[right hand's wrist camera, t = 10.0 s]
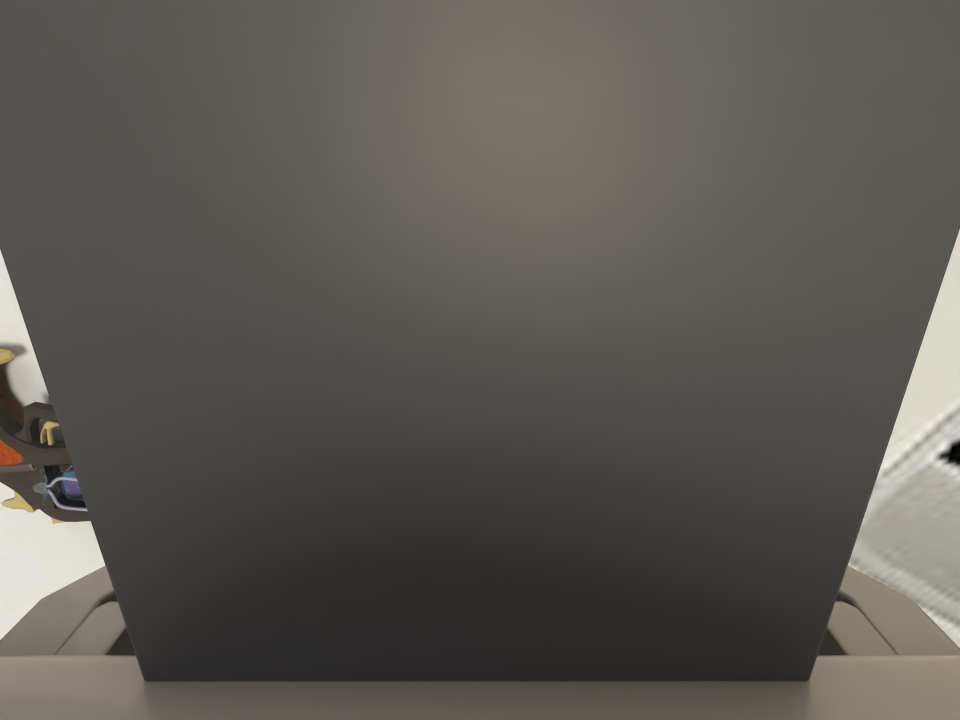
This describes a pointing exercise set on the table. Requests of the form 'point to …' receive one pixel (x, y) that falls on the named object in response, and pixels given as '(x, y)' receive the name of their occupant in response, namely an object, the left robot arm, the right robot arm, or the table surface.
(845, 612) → the right robot arm
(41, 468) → the toy gun
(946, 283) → the table surface
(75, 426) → the box
